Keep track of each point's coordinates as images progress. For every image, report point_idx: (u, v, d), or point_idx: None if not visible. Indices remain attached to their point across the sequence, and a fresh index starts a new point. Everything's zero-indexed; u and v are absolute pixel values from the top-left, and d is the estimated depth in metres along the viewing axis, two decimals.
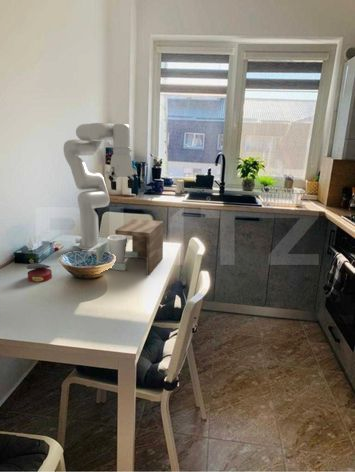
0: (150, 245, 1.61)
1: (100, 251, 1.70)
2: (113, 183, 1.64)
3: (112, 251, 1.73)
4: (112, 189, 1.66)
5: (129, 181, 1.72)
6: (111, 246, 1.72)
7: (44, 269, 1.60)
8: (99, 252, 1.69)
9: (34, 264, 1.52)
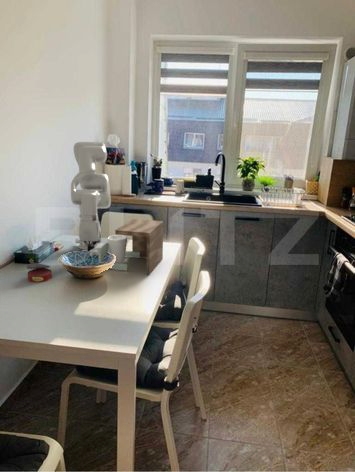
0: (150, 245, 1.61)
1: (102, 251, 1.70)
2: None
3: (112, 251, 1.73)
4: None
5: None
6: (111, 246, 1.72)
7: (44, 269, 1.60)
8: (101, 252, 1.69)
9: (34, 264, 1.52)
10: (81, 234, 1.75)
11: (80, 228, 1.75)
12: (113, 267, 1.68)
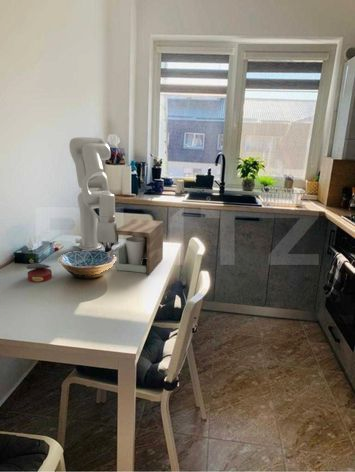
0: (150, 245, 1.61)
1: (120, 253, 1.68)
2: None
3: (130, 253, 1.71)
4: None
5: None
6: (129, 248, 1.70)
7: (44, 269, 1.60)
8: (120, 254, 1.67)
9: (34, 264, 1.52)
10: (99, 236, 1.74)
11: (98, 229, 1.73)
12: (132, 269, 1.66)
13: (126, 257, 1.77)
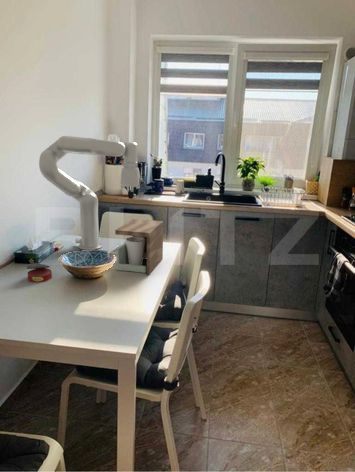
0: (150, 245, 1.61)
1: (120, 253, 1.68)
2: None
3: (130, 253, 1.71)
4: (131, 198, 2.01)
5: None
6: (130, 248, 1.70)
7: (44, 269, 1.60)
8: (119, 254, 1.68)
9: (34, 264, 1.52)
10: (123, 180, 1.98)
11: (122, 175, 1.97)
12: (131, 269, 1.66)
13: (126, 257, 1.77)
